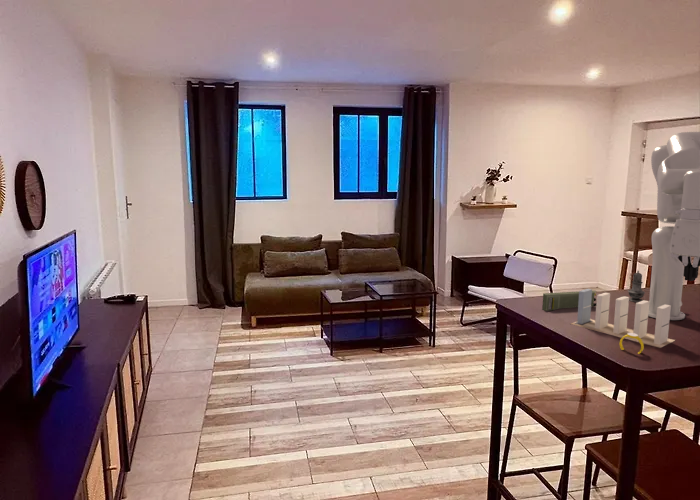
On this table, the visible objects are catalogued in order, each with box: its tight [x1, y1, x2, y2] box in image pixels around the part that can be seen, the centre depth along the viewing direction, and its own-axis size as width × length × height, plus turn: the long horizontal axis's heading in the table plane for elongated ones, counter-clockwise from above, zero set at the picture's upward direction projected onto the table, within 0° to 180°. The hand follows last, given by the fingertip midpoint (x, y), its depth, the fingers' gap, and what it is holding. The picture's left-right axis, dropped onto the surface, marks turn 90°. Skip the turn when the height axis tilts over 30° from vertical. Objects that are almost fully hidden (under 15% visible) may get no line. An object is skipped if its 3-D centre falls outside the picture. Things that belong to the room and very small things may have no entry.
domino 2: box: [594, 292, 611, 329], centre depth 163 cm, size 2×5×11 cm, turn 126°
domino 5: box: [654, 305, 671, 345], centre depth 149 cm, size 2×5×11 cm, turn 126°
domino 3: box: [613, 296, 630, 334], centre depth 158 cm, size 2×5×11 cm, turn 126°
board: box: [570, 318, 676, 349], centre depth 159 cm, size 10×28×1 cm, turn 36°
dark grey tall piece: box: [627, 270, 646, 303], centre depth 195 cm, size 6×6×12 cm
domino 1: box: [577, 288, 593, 324], centre depth 168 cm, size 2×5×11 cm, turn 126°
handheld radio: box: [541, 290, 597, 312], centre depth 187 cm, size 7×3×25 cm
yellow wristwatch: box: [619, 333, 645, 355], centre depth 143 cm, size 6×3×6 cm, turn 45°
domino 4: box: [633, 299, 649, 338], centre depth 153 cm, size 2×5×11 cm, turn 126°
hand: (690, 279), depth 141 cm, fingers closed
